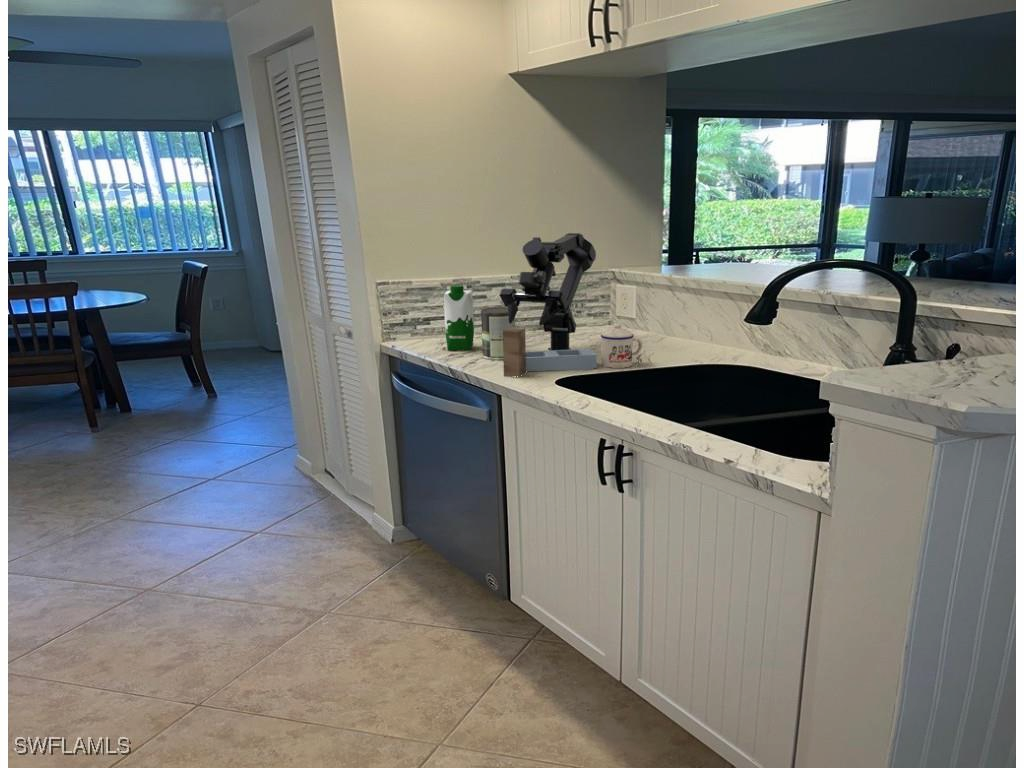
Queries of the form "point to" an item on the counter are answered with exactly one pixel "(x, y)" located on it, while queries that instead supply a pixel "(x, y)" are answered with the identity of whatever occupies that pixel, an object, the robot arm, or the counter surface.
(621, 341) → the teacup with lid
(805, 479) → the counter surface
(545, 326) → the robot arm
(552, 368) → the blue peg holder
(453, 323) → the milk carton
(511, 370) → the peg
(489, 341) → the coffee can
